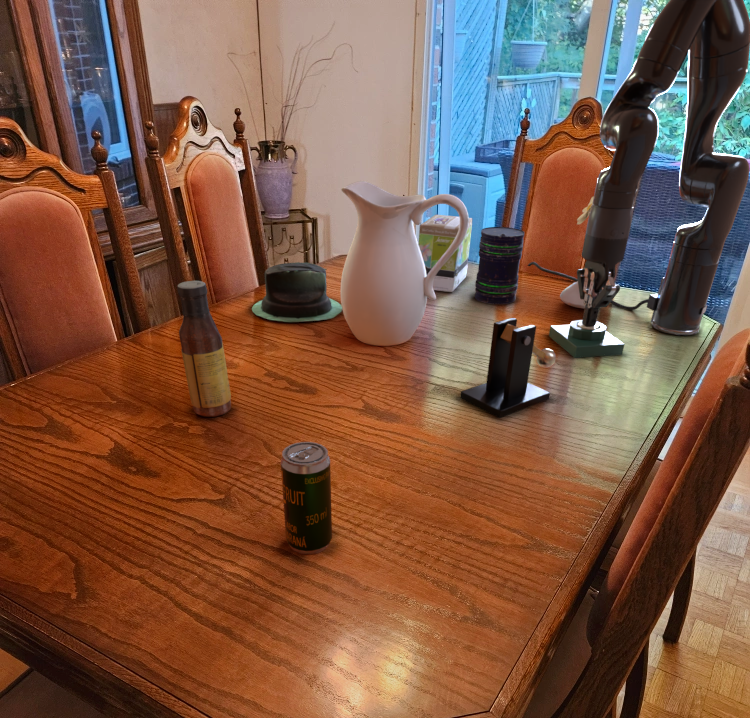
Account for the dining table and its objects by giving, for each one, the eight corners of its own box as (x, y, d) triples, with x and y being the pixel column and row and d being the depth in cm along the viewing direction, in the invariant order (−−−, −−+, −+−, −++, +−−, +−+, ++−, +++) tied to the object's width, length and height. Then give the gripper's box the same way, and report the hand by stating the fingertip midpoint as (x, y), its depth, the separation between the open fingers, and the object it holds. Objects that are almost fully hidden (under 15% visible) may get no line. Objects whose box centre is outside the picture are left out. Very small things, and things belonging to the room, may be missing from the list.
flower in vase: (569, 295, 161) (590, 181, 147) (616, 304, 155) (642, 187, 141) (547, 308, 152) (567, 189, 138) (596, 318, 146) (621, 195, 132)
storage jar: (474, 290, 162) (481, 225, 154) (515, 293, 161) (524, 227, 153) (473, 303, 154) (480, 235, 145) (516, 305, 153) (526, 237, 144)
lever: (538, 366, 116) (547, 349, 115) (553, 372, 114) (562, 355, 113) (496, 338, 105) (506, 320, 105) (511, 344, 103) (521, 325, 103)
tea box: (454, 293, 160) (459, 228, 152) (414, 288, 162) (417, 224, 154) (467, 277, 172) (473, 216, 164) (429, 273, 174) (433, 212, 166)
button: (572, 330, 133) (574, 322, 132) (591, 329, 133) (592, 321, 132) (581, 337, 129) (583, 329, 128) (600, 336, 130) (602, 327, 129)
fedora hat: (327, 287, 159) (360, 315, 144) (264, 331, 159) (290, 364, 144) (296, 231, 149) (328, 255, 134) (228, 279, 148) (253, 308, 134)
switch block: (548, 336, 137) (551, 316, 134) (593, 333, 139) (597, 314, 136) (574, 358, 127) (578, 337, 125) (622, 354, 129) (627, 334, 127)
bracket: (509, 381, 117) (519, 309, 110) (549, 399, 111) (562, 325, 104) (459, 398, 111) (467, 323, 104) (499, 418, 105) (509, 340, 98)
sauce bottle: (239, 405, 107) (226, 280, 96) (219, 421, 103) (203, 292, 91) (203, 398, 109) (186, 275, 98) (182, 414, 104) (162, 287, 93)
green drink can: (309, 522, 81) (305, 435, 74) (341, 540, 78) (340, 451, 71) (276, 543, 78) (269, 453, 71) (309, 562, 75) (305, 471, 68)
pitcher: (327, 343, 131) (323, 189, 115) (360, 318, 144) (361, 176, 128) (443, 363, 123) (456, 202, 108) (467, 334, 136) (482, 186, 121)
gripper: (645, 240, 116) (622, 336, 126) (608, 224, 127) (589, 313, 136) (606, 241, 115) (586, 338, 124) (572, 225, 125) (556, 315, 135)
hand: (588, 325), depth 130 cm, fingers closed
